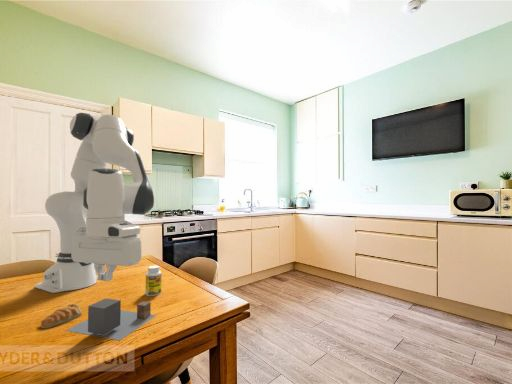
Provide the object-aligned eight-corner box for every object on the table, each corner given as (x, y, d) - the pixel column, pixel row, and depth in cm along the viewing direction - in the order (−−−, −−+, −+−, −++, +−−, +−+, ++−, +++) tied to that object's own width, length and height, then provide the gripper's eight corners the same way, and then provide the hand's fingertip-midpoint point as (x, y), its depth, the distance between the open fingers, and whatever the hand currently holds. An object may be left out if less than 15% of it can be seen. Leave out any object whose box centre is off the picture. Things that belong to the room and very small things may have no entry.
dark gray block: (87, 332, 64) (88, 306, 64) (105, 322, 69) (105, 298, 69) (103, 334, 63) (104, 308, 63) (120, 324, 68) (120, 300, 68)
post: (137, 318, 73) (137, 304, 73) (143, 314, 76) (143, 301, 76) (144, 319, 73) (144, 305, 73) (150, 315, 75) (150, 302, 75)
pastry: (51, 332, 67) (52, 317, 67) (33, 329, 69) (33, 315, 69) (84, 316, 76) (84, 303, 76) (67, 314, 78) (67, 301, 78)
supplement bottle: (146, 298, 89) (147, 269, 90) (144, 293, 94) (144, 266, 94) (162, 294, 93) (163, 267, 93) (159, 290, 97) (159, 264, 97)
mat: (65, 331, 67) (65, 330, 67) (109, 309, 80) (109, 308, 80) (119, 342, 62) (119, 340, 62) (156, 316, 75) (156, 315, 75)
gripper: (64, 228, 66) (63, 280, 66) (127, 230, 61) (126, 287, 60) (86, 226, 72) (86, 273, 72) (145, 227, 67) (145, 279, 66)
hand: (105, 280), depth 66 cm, fingers closed
